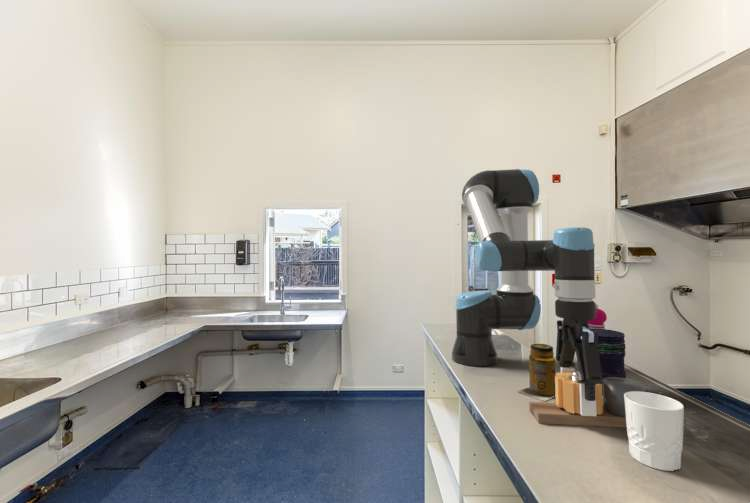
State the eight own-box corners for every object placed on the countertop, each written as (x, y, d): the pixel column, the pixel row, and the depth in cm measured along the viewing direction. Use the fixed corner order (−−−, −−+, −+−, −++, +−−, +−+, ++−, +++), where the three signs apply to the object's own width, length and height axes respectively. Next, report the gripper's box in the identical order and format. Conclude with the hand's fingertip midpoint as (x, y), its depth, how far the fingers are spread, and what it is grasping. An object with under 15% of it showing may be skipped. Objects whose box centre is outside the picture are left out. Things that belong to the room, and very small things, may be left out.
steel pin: (570, 407, 73) (569, 369, 74) (580, 407, 73) (579, 370, 73) (574, 411, 71) (573, 372, 72) (585, 411, 71) (584, 373, 71)
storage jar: (608, 399, 82) (606, 337, 82) (572, 385, 91) (571, 330, 92) (636, 394, 85) (634, 334, 86) (599, 381, 94) (597, 327, 95)
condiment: (563, 394, 86) (562, 346, 86) (544, 402, 81) (543, 351, 81) (536, 385, 92) (535, 341, 92) (517, 392, 87) (516, 345, 88)
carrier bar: (529, 410, 76) (529, 401, 76) (635, 415, 73) (635, 406, 74) (538, 423, 70) (538, 413, 70) (654, 429, 68) (654, 418, 68)
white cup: (614, 448, 61) (612, 392, 61) (654, 445, 62) (653, 390, 62) (654, 475, 53) (651, 411, 53) (699, 472, 54) (697, 408, 54)
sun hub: (597, 403, 75) (596, 376, 75) (631, 405, 74) (630, 377, 74) (615, 418, 68) (614, 388, 68) (653, 419, 67) (652, 389, 67)
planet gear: (590, 399, 76) (589, 372, 76) (611, 416, 67) (610, 386, 68) (549, 397, 77) (548, 371, 77) (565, 414, 69) (564, 384, 69)
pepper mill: (584, 362, 112) (582, 301, 113) (610, 365, 108) (608, 302, 108) (582, 367, 106) (580, 303, 107) (610, 372, 102) (608, 305, 102)
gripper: (539, 294, 84) (541, 386, 83) (579, 305, 63) (582, 429, 62) (571, 294, 83) (573, 387, 82) (623, 306, 62) (627, 431, 61)
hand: (577, 405), depth 72 cm, fingers closed on planet gear, 8 cm apart
